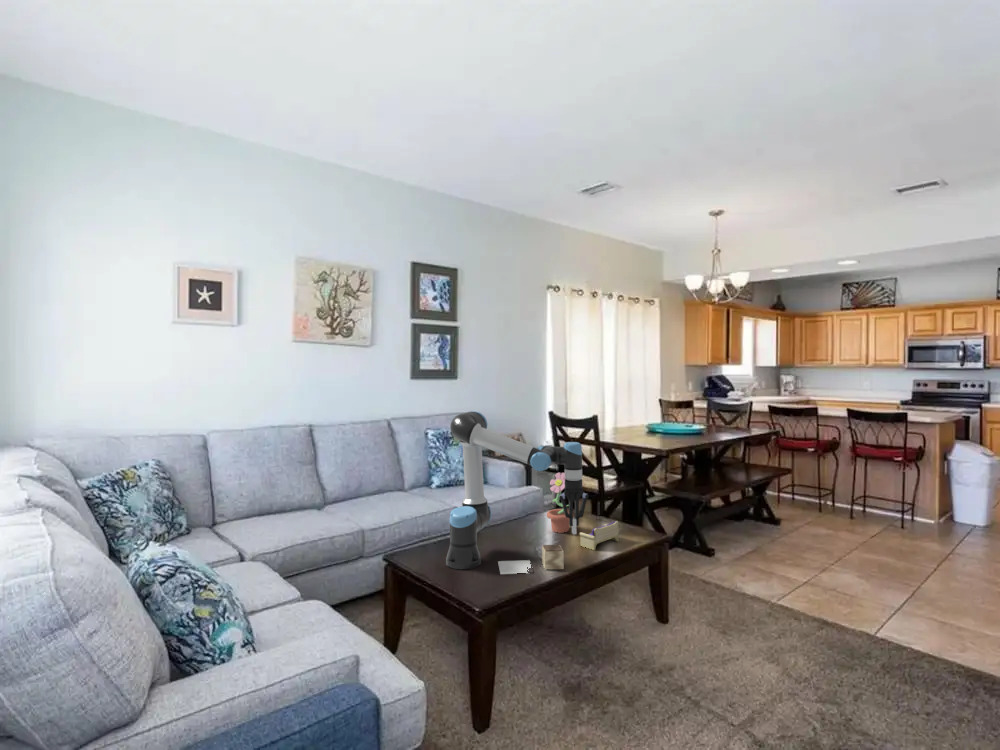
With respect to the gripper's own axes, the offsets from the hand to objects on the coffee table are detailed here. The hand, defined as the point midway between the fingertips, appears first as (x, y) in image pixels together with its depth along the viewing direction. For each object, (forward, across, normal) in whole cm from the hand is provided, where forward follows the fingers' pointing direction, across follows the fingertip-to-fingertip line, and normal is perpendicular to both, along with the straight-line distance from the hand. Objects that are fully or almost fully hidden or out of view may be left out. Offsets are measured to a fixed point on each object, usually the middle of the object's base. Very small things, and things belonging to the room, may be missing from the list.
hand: (574, 533), depth 240 cm
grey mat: (+14, +26, 0) cm, 29 cm away
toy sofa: (+15, -18, -27) cm, 36 cm away
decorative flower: (+14, -2, -48) cm, 50 cm away
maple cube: (+14, +10, 0) cm, 17 cm away
